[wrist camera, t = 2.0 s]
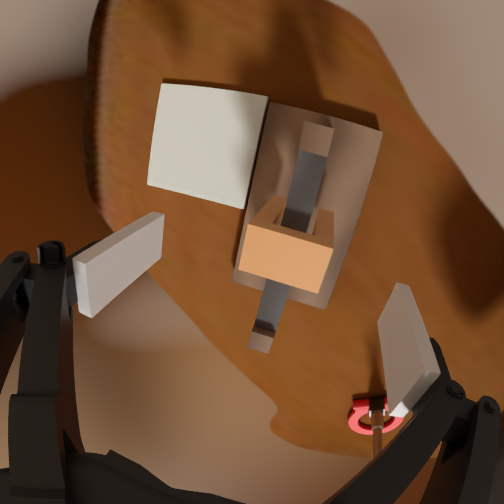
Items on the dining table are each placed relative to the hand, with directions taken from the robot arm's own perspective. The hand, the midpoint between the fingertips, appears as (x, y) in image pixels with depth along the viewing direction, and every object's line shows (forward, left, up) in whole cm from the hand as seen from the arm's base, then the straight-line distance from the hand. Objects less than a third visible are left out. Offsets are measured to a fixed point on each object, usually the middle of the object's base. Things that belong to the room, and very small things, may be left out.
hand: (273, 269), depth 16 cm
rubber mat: (+11, -4, -14) cm, 18 cm away
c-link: (0, 0, -10) cm, 10 cm away
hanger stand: (0, 0, -14) cm, 14 cm away
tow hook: (-19, +25, -14) cm, 35 cm away
